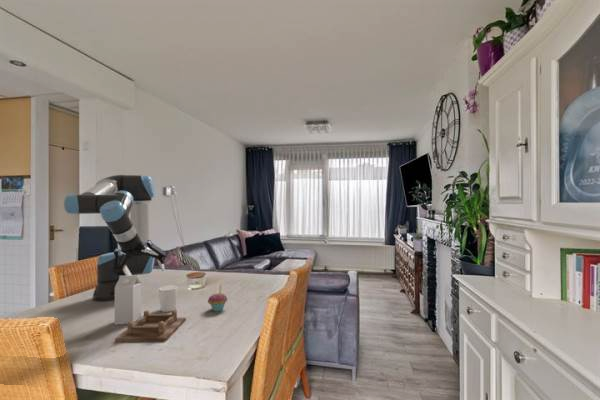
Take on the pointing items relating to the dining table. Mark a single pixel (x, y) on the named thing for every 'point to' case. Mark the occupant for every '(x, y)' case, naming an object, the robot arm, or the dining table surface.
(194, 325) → the dining table surface
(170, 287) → the white cup
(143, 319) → the walnut stand
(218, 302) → the cupcake
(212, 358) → the dining table surface
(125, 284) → the milk carton
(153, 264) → the robot arm
